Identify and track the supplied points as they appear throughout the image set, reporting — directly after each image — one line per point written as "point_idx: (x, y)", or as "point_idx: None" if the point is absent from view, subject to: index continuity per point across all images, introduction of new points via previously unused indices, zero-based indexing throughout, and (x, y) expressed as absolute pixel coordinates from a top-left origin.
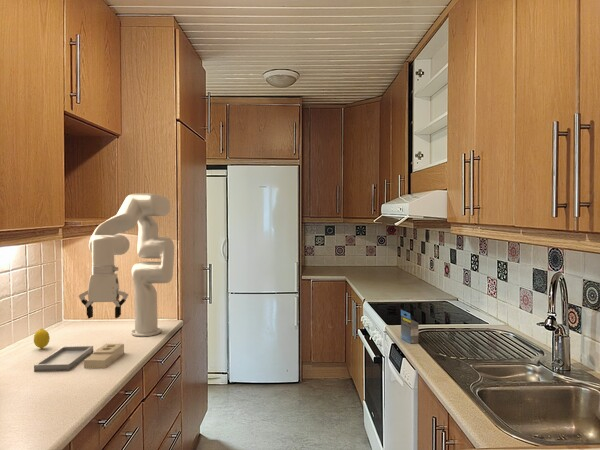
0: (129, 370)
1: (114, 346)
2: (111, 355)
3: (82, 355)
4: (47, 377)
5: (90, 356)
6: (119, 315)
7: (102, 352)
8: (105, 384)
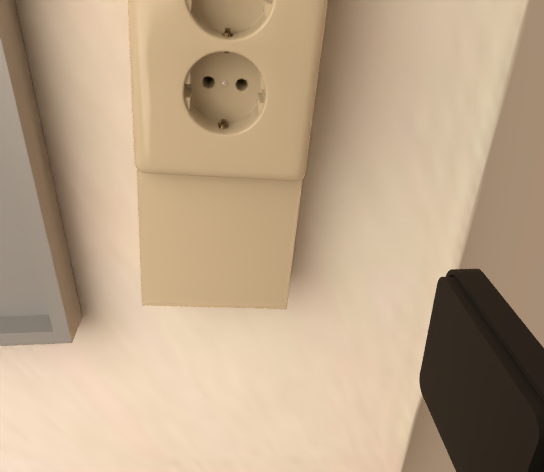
0: None
1: (271, 15)
2: (299, 198)
3: (24, 115)
4: (27, 399)
5: (147, 229)
6: (480, 285)
7: (216, 176)
8: (358, 463)
